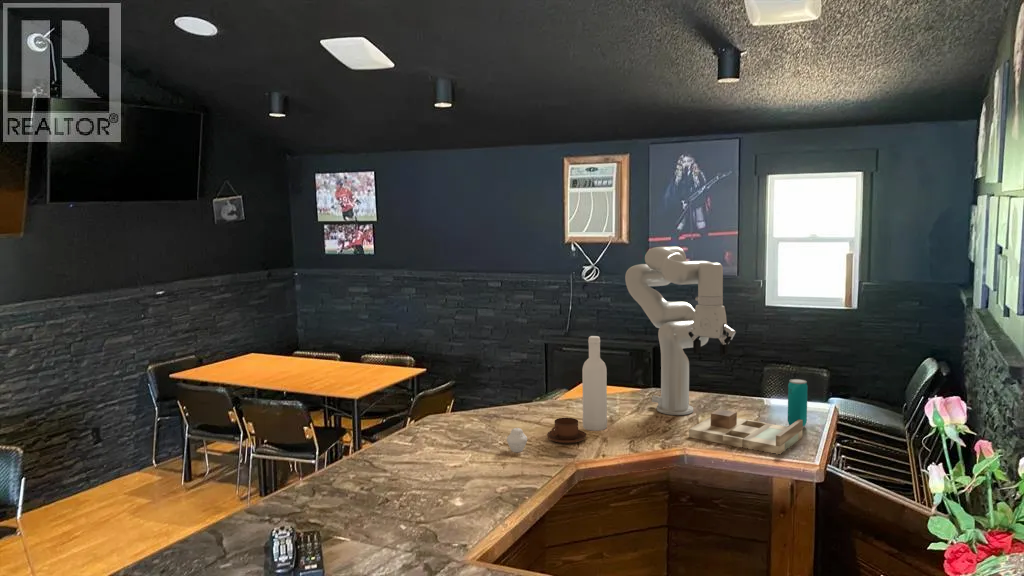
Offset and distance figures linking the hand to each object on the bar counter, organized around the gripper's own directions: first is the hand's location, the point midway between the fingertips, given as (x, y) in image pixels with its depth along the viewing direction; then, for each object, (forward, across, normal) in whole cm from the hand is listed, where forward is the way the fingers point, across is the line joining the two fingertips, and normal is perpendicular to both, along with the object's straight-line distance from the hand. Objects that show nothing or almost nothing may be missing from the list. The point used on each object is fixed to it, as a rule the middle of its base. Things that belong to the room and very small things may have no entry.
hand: (710, 354), depth 230 cm
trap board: (+24, +13, -1) cm, 27 cm away
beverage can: (+24, +19, +21) cm, 37 cm away
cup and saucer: (+24, -24, -42) cm, 54 cm away
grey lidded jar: (+24, -28, -59) cm, 70 cm away
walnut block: (+21, +6, -2) cm, 22 cm away
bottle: (+24, -27, -26) cm, 44 cm away
